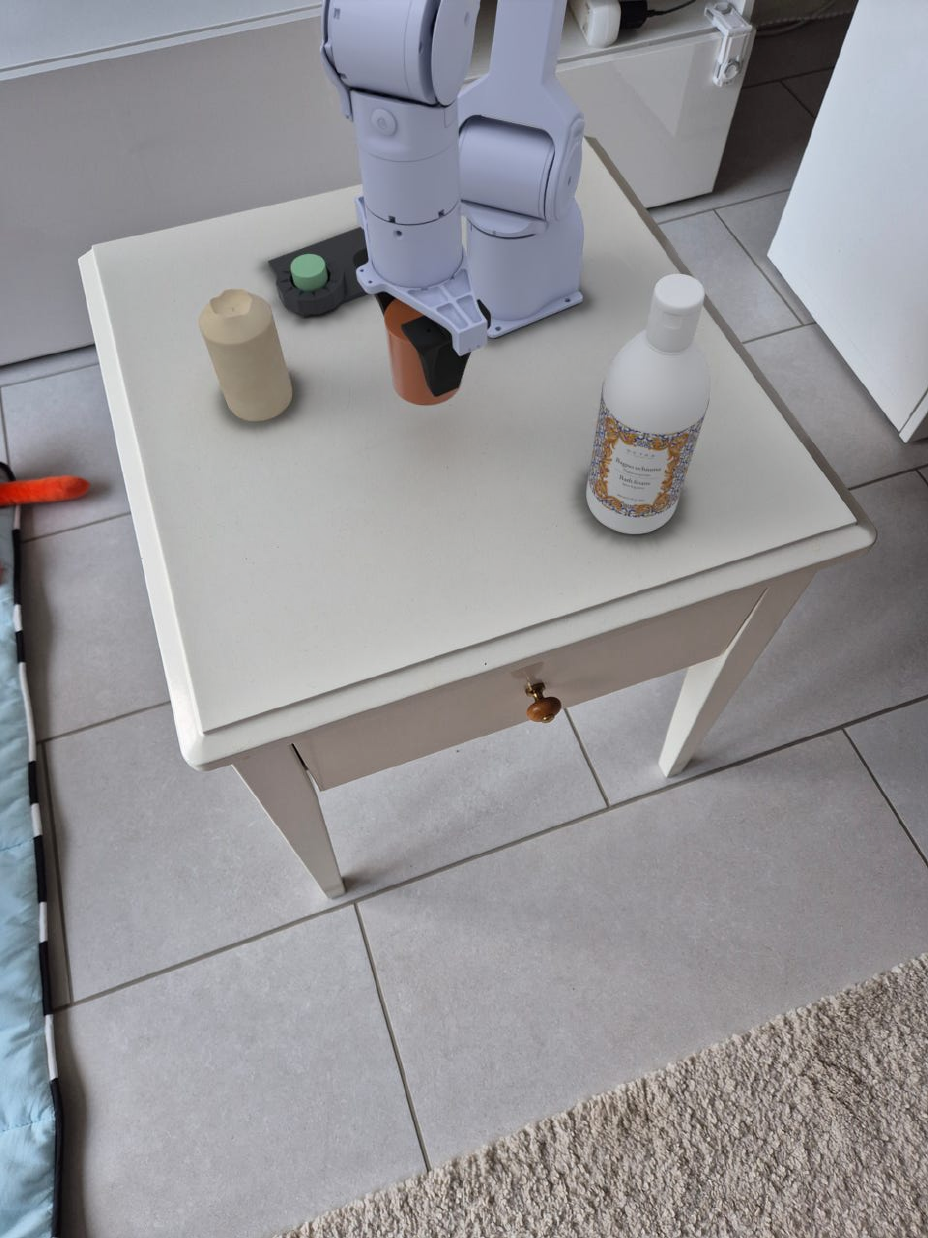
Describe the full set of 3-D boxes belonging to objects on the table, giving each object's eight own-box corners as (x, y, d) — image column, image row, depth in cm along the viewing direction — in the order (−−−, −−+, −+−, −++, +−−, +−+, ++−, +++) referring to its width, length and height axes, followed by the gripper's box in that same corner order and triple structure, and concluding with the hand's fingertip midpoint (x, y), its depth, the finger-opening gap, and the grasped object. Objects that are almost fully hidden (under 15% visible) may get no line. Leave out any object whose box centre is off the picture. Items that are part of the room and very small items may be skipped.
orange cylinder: (441, 343, 68) (437, 279, 63) (475, 388, 66) (474, 325, 60) (380, 369, 67) (370, 306, 62) (412, 416, 65) (405, 354, 59)
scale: (404, 215, 86) (402, 195, 84) (447, 270, 82) (446, 249, 80) (259, 269, 83) (253, 249, 81) (297, 328, 79) (292, 308, 77)
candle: (282, 426, 73) (254, 332, 65) (218, 417, 74) (182, 323, 65) (301, 377, 76) (277, 280, 67) (239, 368, 77) (207, 272, 68)
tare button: (319, 263, 80) (316, 249, 79) (333, 284, 79) (330, 269, 77) (288, 275, 79) (284, 260, 78) (301, 296, 78) (298, 281, 77)
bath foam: (575, 524, 68) (606, 318, 50) (596, 455, 71) (633, 239, 54) (666, 547, 67) (730, 343, 49) (683, 475, 70) (749, 261, 53)
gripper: (300, 149, 55) (333, 320, 67) (408, 291, 49) (423, 452, 61) (402, 113, 57) (417, 287, 69) (519, 247, 50) (513, 412, 62)
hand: (426, 362), depth 65 cm, fingers closed on orange cylinder, 5 cm apart
